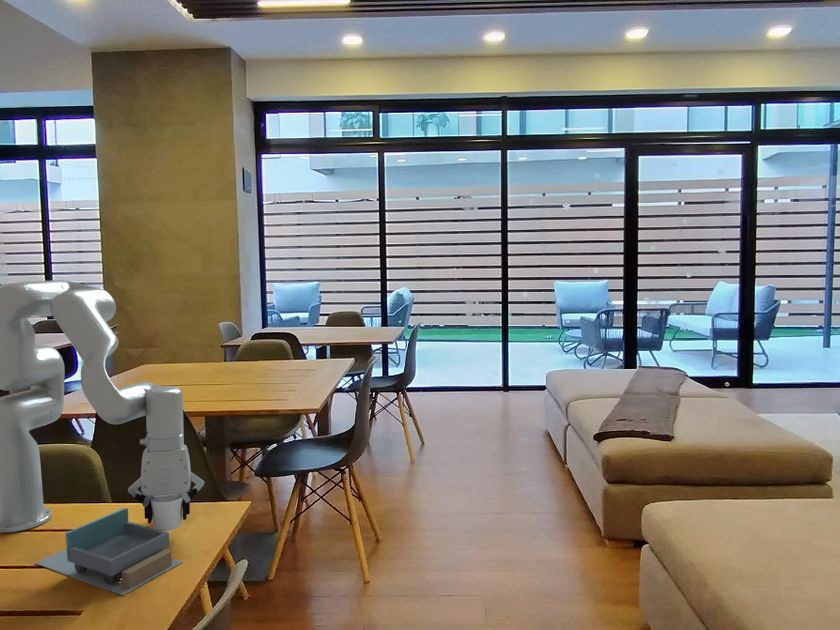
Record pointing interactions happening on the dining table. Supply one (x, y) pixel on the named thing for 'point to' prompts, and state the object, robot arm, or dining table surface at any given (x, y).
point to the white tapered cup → (167, 511)
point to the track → (129, 576)
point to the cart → (113, 544)
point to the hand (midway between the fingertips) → (167, 518)
